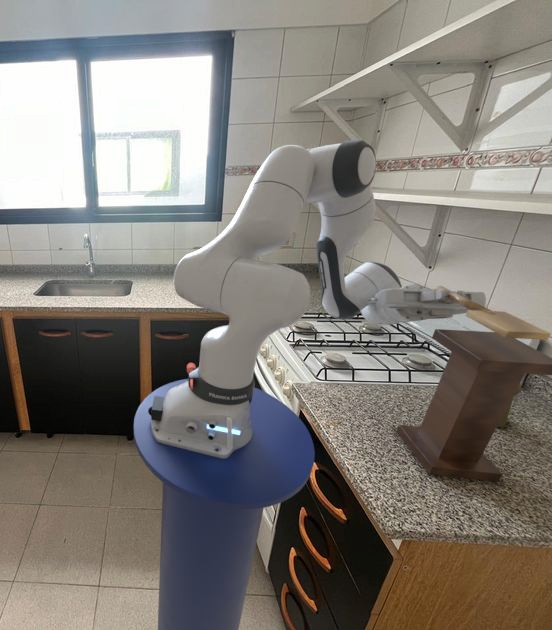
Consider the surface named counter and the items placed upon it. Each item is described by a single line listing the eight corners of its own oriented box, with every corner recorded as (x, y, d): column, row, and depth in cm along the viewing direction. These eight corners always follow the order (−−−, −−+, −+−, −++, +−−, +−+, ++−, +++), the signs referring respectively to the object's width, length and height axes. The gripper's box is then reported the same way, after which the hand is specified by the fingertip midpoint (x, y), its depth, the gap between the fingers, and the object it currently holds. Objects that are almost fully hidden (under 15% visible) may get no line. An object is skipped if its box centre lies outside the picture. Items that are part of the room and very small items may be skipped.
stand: (429, 474, 68) (481, 360, 57) (396, 431, 78) (435, 328, 68) (498, 481, 66) (566, 365, 55) (455, 436, 77) (504, 332, 66)
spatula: (505, 337, 56) (509, 329, 56) (420, 291, 77) (423, 284, 76) (547, 340, 56) (552, 331, 55) (450, 292, 76) (453, 285, 75)
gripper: (364, 289, 87) (398, 277, 73) (455, 292, 84) (508, 281, 70) (364, 314, 86) (398, 306, 73) (455, 318, 83) (509, 311, 70)
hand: (453, 294), depth 71 cm, fingers closed on spatula, 1 cm apart
